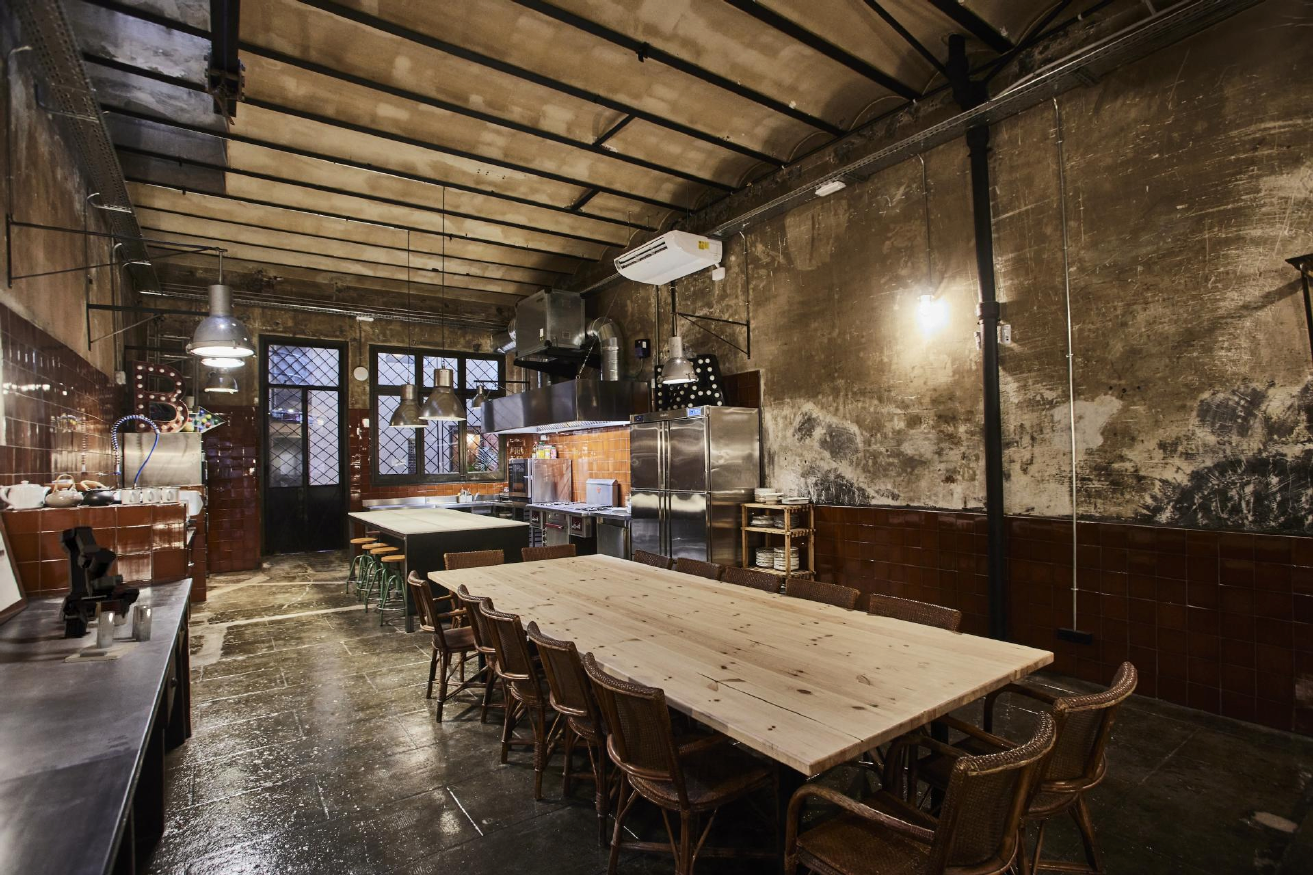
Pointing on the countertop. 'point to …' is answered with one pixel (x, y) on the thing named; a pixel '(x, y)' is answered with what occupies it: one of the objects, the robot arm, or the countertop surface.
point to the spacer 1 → (105, 629)
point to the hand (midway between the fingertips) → (105, 620)
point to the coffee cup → (116, 605)
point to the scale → (102, 652)
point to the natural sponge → (96, 612)
